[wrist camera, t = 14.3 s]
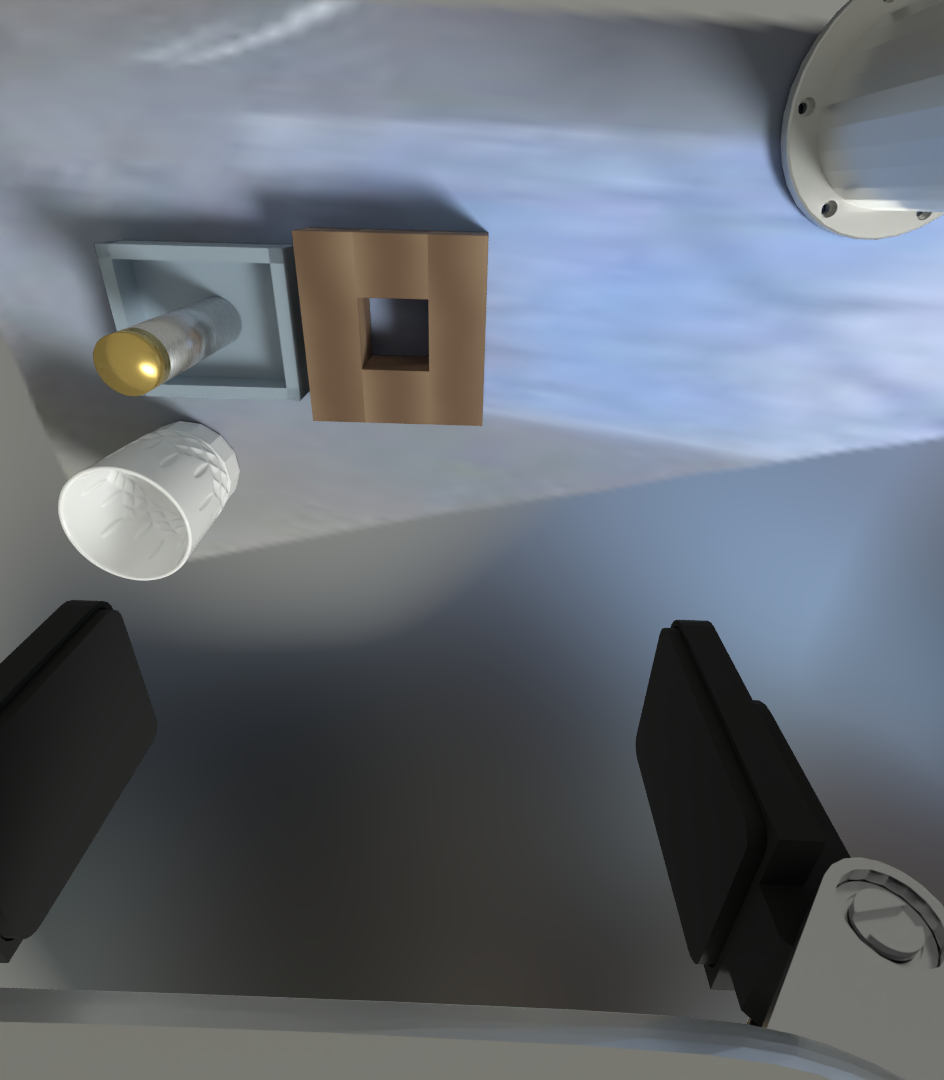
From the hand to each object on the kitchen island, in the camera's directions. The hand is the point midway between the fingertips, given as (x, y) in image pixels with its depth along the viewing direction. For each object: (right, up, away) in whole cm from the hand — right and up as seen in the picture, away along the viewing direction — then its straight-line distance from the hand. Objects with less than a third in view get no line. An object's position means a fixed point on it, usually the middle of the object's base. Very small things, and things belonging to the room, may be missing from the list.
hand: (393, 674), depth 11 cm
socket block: (-3, +17, +29) cm, 34 cm away
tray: (-15, +17, +29) cm, 37 cm away
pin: (-15, +17, +28) cm, 36 cm away
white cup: (-19, +8, +34) cm, 40 cm away
